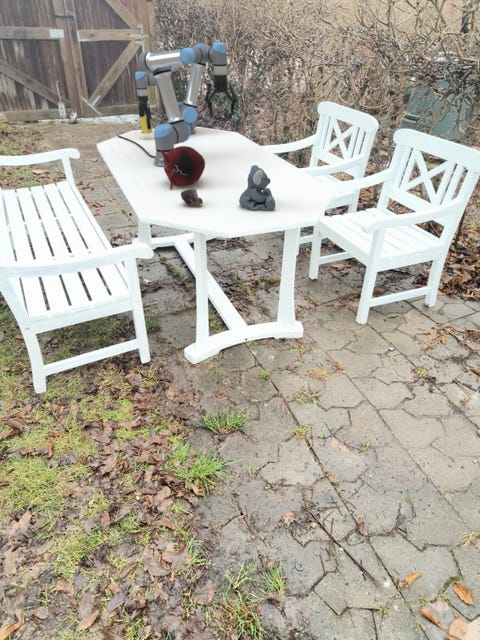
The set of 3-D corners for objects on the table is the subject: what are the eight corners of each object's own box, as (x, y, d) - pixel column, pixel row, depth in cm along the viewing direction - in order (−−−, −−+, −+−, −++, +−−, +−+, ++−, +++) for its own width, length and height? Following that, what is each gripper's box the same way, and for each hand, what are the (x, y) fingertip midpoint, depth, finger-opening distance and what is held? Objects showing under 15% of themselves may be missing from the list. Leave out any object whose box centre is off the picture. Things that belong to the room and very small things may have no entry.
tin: (139, 132, 346) (137, 117, 340) (146, 130, 352) (144, 115, 346) (147, 134, 343) (145, 118, 336) (154, 132, 348) (153, 116, 342)
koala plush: (276, 211, 223) (277, 171, 212) (240, 212, 222) (240, 172, 211) (271, 199, 237) (272, 161, 226) (237, 200, 236) (237, 162, 225)
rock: (196, 202, 238) (178, 205, 233) (194, 185, 234) (176, 188, 230) (205, 205, 228) (187, 208, 224) (203, 188, 224) (185, 191, 220)
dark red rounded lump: (162, 151, 264) (156, 150, 240) (201, 143, 263) (199, 140, 240) (172, 188, 271) (167, 190, 247) (209, 180, 270) (208, 181, 246)
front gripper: (243, 74, 255) (243, 114, 267) (202, 73, 262) (204, 112, 274) (239, 75, 249) (239, 116, 261) (197, 74, 256) (199, 114, 268)
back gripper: (131, 94, 338) (135, 126, 351) (144, 97, 324) (148, 130, 337) (140, 93, 341) (144, 125, 354) (154, 96, 328) (157, 129, 340)
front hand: (221, 114), depth 268 cm, fingers open, 13 cm apart
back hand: (146, 127), depth 345 cm, fingers closed on tin, 8 cm apart
